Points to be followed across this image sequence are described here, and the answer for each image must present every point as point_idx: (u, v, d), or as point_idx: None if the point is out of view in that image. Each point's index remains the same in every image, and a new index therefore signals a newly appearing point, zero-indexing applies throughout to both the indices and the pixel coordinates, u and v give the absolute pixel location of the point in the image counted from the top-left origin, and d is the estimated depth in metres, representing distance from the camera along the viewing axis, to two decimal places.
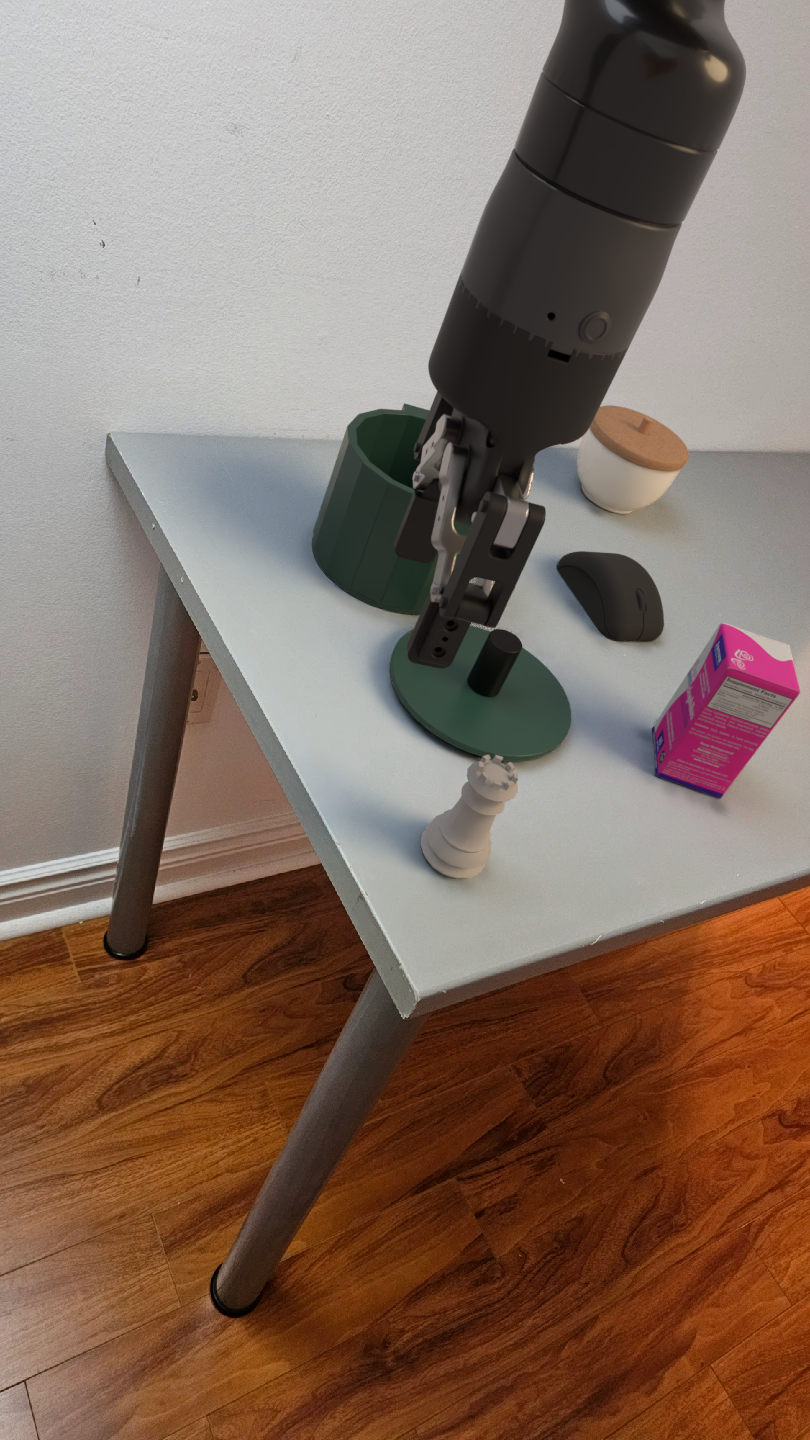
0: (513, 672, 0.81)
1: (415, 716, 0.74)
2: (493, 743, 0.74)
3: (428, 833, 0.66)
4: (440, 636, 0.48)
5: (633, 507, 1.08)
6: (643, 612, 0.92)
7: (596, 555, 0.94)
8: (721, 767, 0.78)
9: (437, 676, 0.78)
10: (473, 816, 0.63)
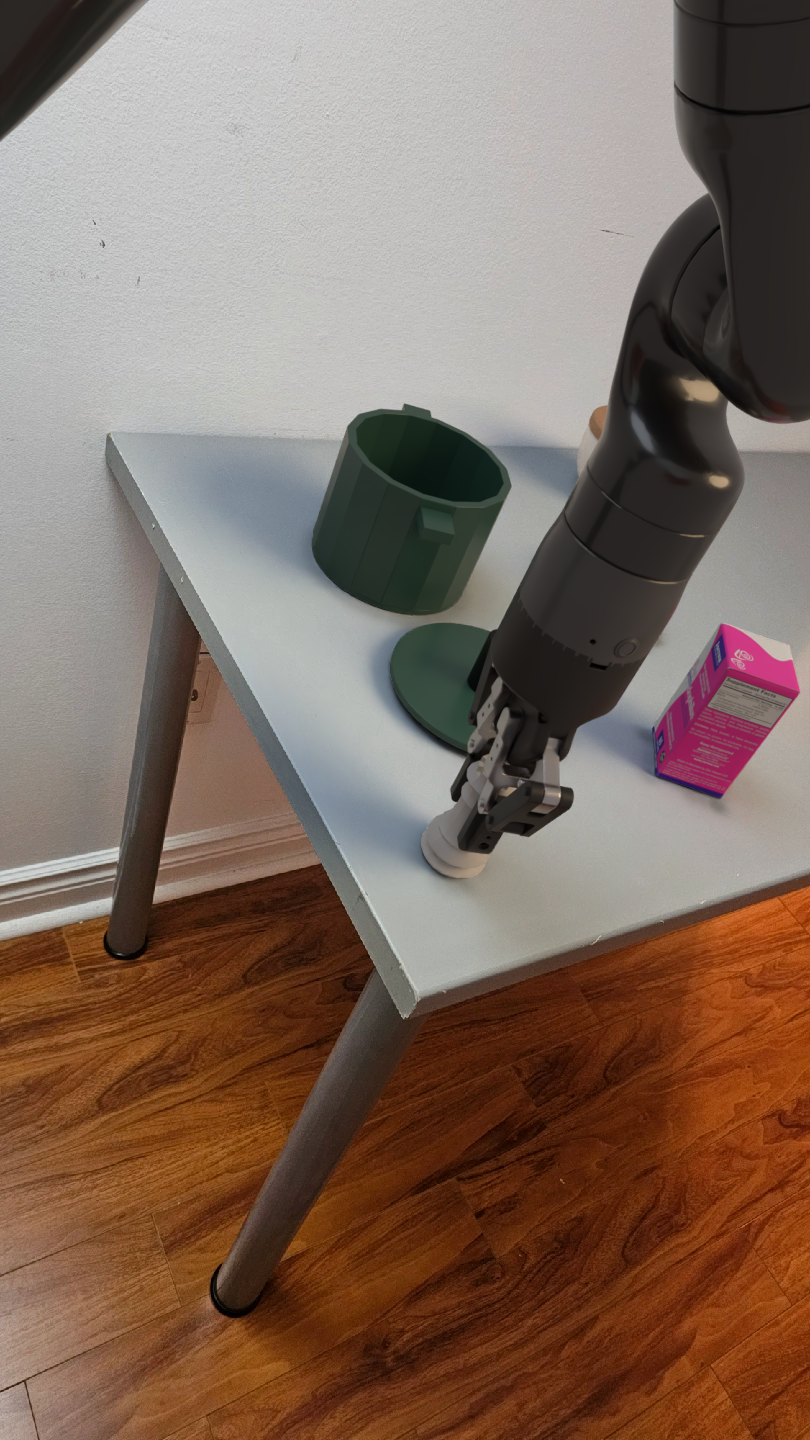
0: None
1: (415, 716, 0.74)
2: None
3: (428, 833, 0.66)
4: (485, 835, 0.61)
5: None
6: None
7: None
8: (721, 767, 0.78)
9: (437, 676, 0.78)
10: None
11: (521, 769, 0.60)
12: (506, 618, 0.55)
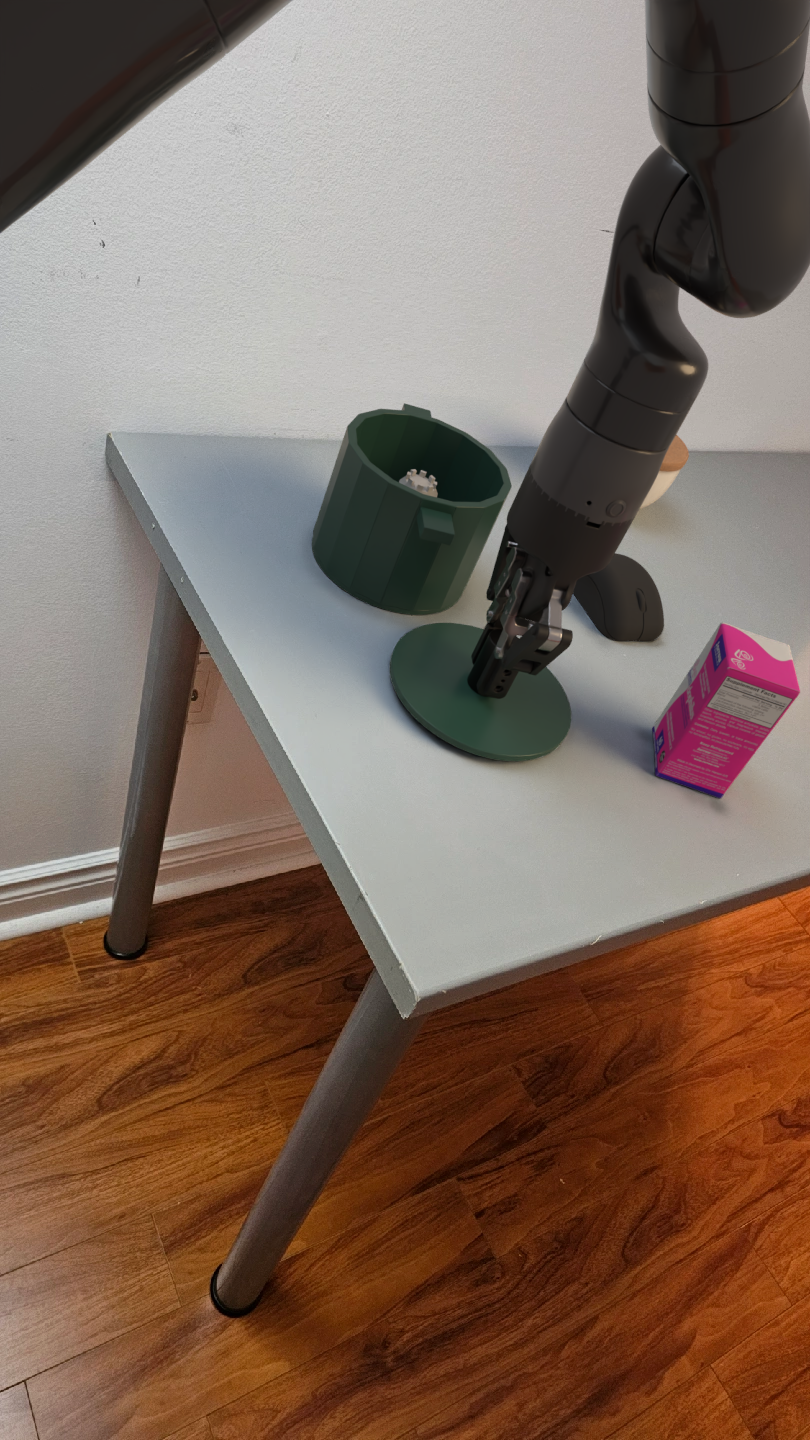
0: None
1: (415, 716, 0.74)
2: (493, 743, 0.74)
3: None
4: (500, 679, 0.75)
5: None
6: (644, 612, 0.92)
7: None
8: (721, 767, 0.78)
9: (437, 676, 0.78)
10: None
11: (530, 622, 0.73)
12: (519, 492, 0.68)
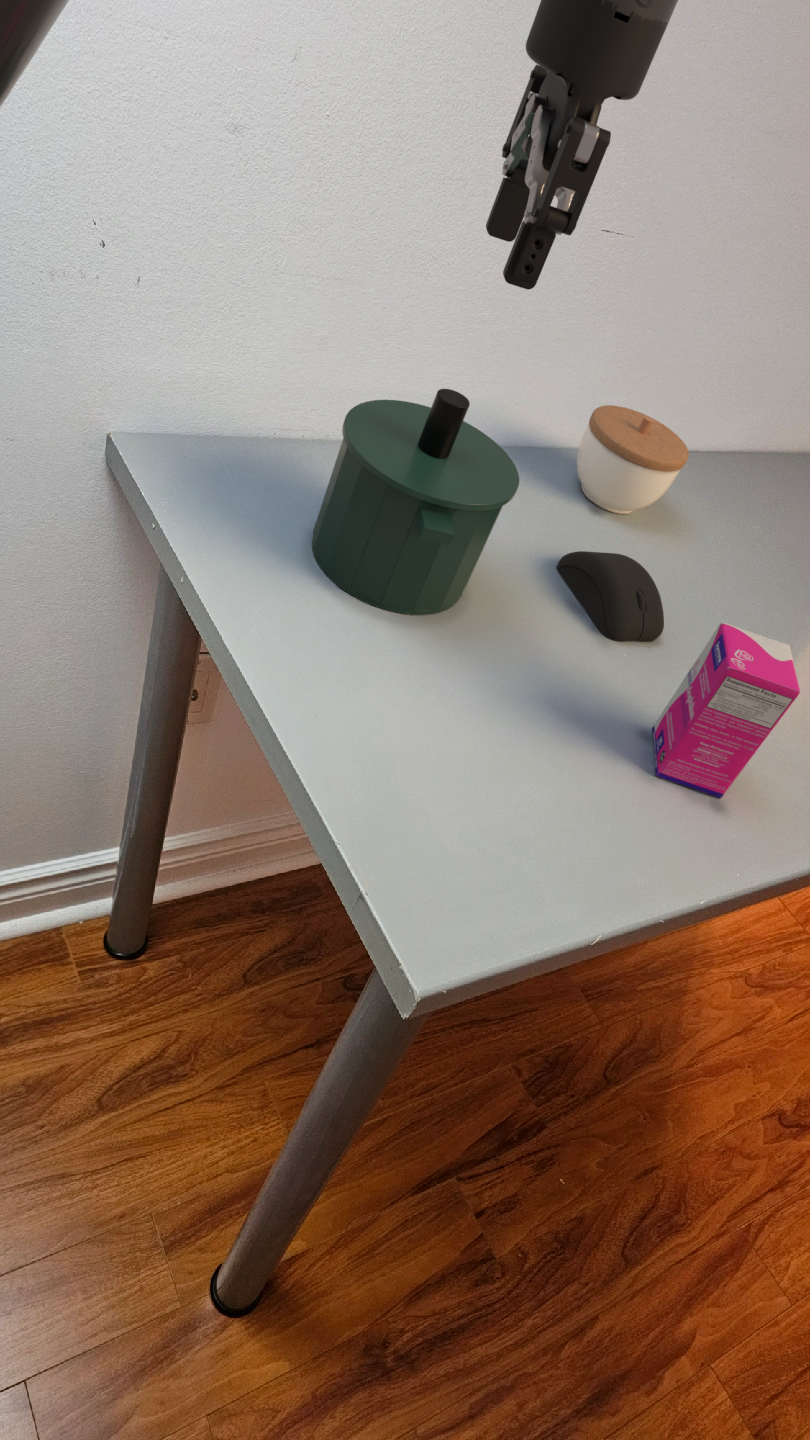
0: (464, 443, 0.84)
1: (365, 465, 0.77)
2: (440, 491, 0.77)
3: None
4: (530, 253, 0.67)
5: (633, 507, 1.08)
6: (644, 612, 0.92)
7: (596, 555, 0.94)
8: (721, 767, 0.78)
9: (388, 437, 0.81)
10: None
11: None
12: (540, 3, 0.63)
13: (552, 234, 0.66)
